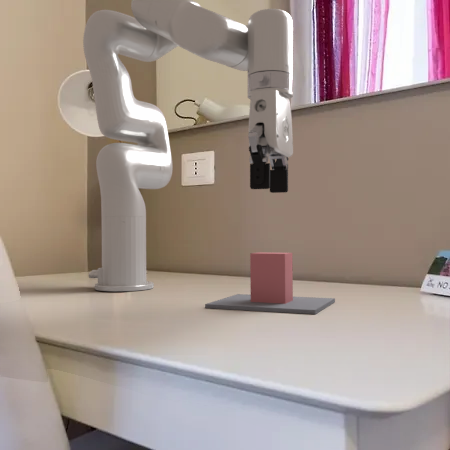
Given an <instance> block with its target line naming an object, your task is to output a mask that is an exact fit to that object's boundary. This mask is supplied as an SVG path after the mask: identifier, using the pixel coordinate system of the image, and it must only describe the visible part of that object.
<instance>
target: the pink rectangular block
mask: <svg viewBox="0 0 450 450" xmlns="http://www.w3.org/2000/svg"><path fill="white" fill-rule="evenodd" d="M249 256H250V257H249V258H250V259H249V261H250V263H249V264H250V272H249V273H250V274H249V275H250V295H251V302H264V303H282V304H286V303H288V302H291V301H293V297H294V293H293V292H294V290H293V289H294V287H293V284H294V282H293V281H294V279H293V278H294V277H293V276H294V272H293V252H271V251H270V252H269V251H268V252H264V251H263V252H262V251H259V252H251V253H250V254H249Z"/></svg>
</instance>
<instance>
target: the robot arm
mask: <svg viewBox="0 0 450 450" xmlns="http://www.w3.org/2000/svg"><path fill="white" fill-rule="evenodd" d="M130 2H131V3H130V5H131V6H130V9H131V11H132V14H133V16H131V15H130V14H126V13H122V12H120V11H116V10H111V9H101V10H97V11H94V12H93V13H92V14H90V16H89V18H88V19H87V21H86V23H85V27H84V33H83V37H82V38H83V39H82V43H83V54H84V57H85V61H86V65H87V68H88V71H89V74H90V77H91V78H90V79H91V81H92V83H91V84H92V87H93V88H92V91H93V97H94V104H95V105H94V106H95V111H96V120H97V124H98V129H99V132H100V133H101V134H102V135H103V136H104V137H105V138H108V139H111V140H116V141H121V142H113V143H109V144H106V145H104V146H103V147H102V148H101V149H100V150H99V151H98V154H97V156H96V161H95V162H96V163H95V164H96V166H95V167H96V173H97V179H98V184H99V191H100V200H101V201H100V204H101V207H100V208H101V210H100V211H101V267H98V268H97V269H92V270H91V271H90V272H88V278H89V279H97V283H95V284H94V290H96V291H100V292H101V291H102V292H139V291H145V290H151V289H153V288H154V286H155V283H154V282H153V281H148V280H147V210H146V209H147V208H146V203H145V201H144V198H143V194H141V191H140V189H144V190H145V189H146V190H159V189H162V188H164V187H166V186H167V185H168V184H169V183H170V181H171V179H172V176H173V165H174V164H173V157H172V150H171V149H172V148H171V144H170V143H171V142H170V138H169V130H168V125H167V120H166V118H165V117H166V116H165V115H164V113H163V111H162V110H161V109H160V107H158V106H157V105H155V104H153V103H149V102H146V101H142V100H138V99H137V98H136V97H135V96H134V91H133V86H132V85H133V84H132V80H131V75H130V74H129V71H128V70H127V68H126V66H125V65H124V63H123V62H122V60H121V59H120V57H119V55H121V56H124V57H127V58H129V59H130V58H131V59H134V60H138V61H141V62H145V63H147V62H148V63H150V62H152V63H153V62H155V61H157V60H159V59H161V58H163V57H164V56H166V55H167V54H168V53H170V52H171V51H173V50H174V49H176V48H177V47H180V48H181V49H183V50H185V51H187V52H189V53H191V54H193V55H195V56H196V57H197V56H198V57H200V58H202V59H205V60H208V61H210V62H214V63H217V64H221V65H222V66H226V67H228V68H232V69H234V70H237V71H240V72H241V71H242V72H247V99H249V100H250V101H249V102H250V103H249V111H248V112H249V113H248V114H249V115H248V133H247V136H248V145H249V146H248V151H249V154H250V155H249V159H248V160H249V187H250V190H269V193H273V194H274V193H275V194H276V193H279V194H280V193H283V194H285V193H288V191H289V163H288V161H289V158H291V157H292V156H293V154H294V139H293V137H294V136H293V120H292V119H293V118H292V107H291V103H290V99H292V98H293V92H294V91H293V90H294V88H293V86H294V85H293V84H294V82H293V81H294V78H293V77H294V75H293V74H294V72H293V71H294V69H293V67H294V65H293V64H294V60H293V58H294V57H293V56H294V54H293V53H294V51H293V50H294V48H293V47H294V41H293V40H294V35H293V34H294V33H293V31H294V27H293V26H294V25H293V19H292V16H291V15H290V14H289V13H288V12H287V11H285V10H283V9H279V8H264V9H260V10H257V11H256V12H254V13H253V14H251V15H250V17H249V18H248V21H247V24H244V23H241V22H239V21H237V20H234V19H232V18H230V17H226V16H224V15H222V14H220V13H217V12H215V11H212V10H210V9H208V8H205V7H203V6H201V4H199V2H198V1H195V0H131V1H130ZM125 142H126V143H125ZM127 142H128V143H127Z"/></svg>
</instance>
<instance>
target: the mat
mask: <svg viewBox="0 0 450 450" xmlns="http://www.w3.org/2000/svg"><path fill="white" fill-rule="evenodd" d="M335 302H336V298H332V297H312V296H311V297H309V296H293V301H291V302H288V303H286V304H282V303H264V302H251V294H244V293H242V294H240V293H237V294H234V295H230V296H226V297H224V298H221V299H217V300H214V301H211V302H207V303H205V304H204V308H205V309H219V310H236V311H237V310H238V311H250V312H251V311H255V312H268V313H269V312H271V313H273V312H274V313H286V314H287V313H289V314H305V315H317V314H318V313H320V312H322V311H323V310H325V309H326V308H328V307H329V306H331V305H333V304H334V303H335Z"/></svg>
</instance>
